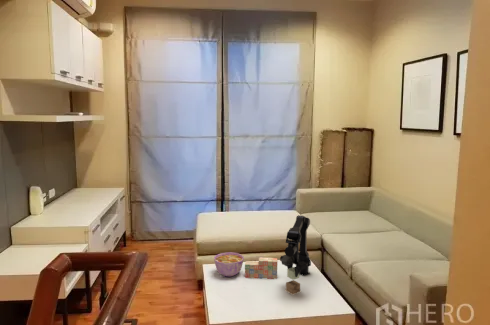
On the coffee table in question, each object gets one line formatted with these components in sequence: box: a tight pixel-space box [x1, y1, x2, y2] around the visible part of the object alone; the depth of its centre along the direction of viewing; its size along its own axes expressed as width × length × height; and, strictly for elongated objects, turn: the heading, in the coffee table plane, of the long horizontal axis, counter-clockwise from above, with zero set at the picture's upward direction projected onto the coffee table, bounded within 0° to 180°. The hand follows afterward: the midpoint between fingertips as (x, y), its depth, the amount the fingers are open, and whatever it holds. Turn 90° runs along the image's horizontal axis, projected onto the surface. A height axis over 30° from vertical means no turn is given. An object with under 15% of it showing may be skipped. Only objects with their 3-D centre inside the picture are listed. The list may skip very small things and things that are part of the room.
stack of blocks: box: [244, 257, 278, 280], centre depth 252 cm, size 21×6×12 cm, turn 83°
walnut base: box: [285, 279, 301, 295], centre depth 230 cm, size 6×6×5 cm
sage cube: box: [286, 266, 300, 281], centre depth 229 cm, size 5×5×5 cm
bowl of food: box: [213, 251, 245, 277], centre depth 256 cm, size 20×20×12 cm
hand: (293, 275), depth 230 cm, fingers closed on sage cube, 5 cm apart
